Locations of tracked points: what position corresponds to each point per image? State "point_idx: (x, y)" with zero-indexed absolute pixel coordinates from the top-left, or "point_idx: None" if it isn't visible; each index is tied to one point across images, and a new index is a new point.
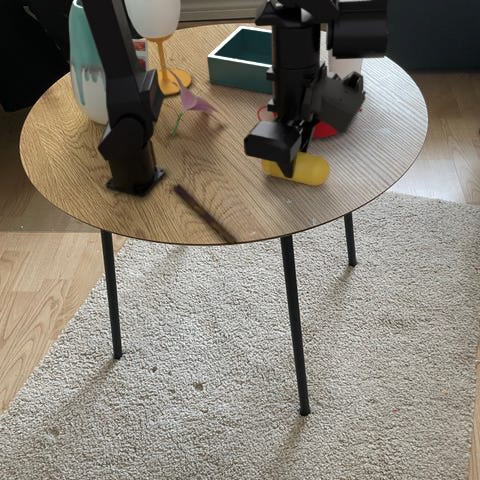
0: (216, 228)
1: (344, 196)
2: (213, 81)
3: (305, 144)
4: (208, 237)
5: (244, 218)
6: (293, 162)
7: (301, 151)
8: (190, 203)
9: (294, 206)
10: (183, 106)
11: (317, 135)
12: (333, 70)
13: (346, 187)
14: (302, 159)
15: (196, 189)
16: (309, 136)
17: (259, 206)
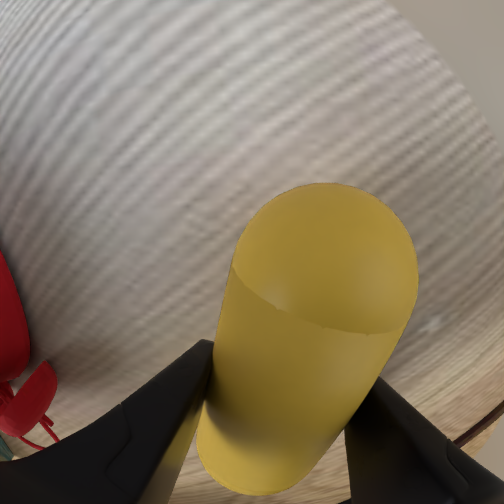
0: (484, 429)
1: (399, 94)
2: (10, 454)
3: (190, 417)
4: (491, 426)
5: (467, 402)
6: (451, 441)
7: (203, 393)
8: None
9: (458, 301)
10: None
11: (8, 284)
12: None
13: (329, 84)
14: (345, 399)
15: (342, 493)
16: (166, 456)
17: (435, 392)
